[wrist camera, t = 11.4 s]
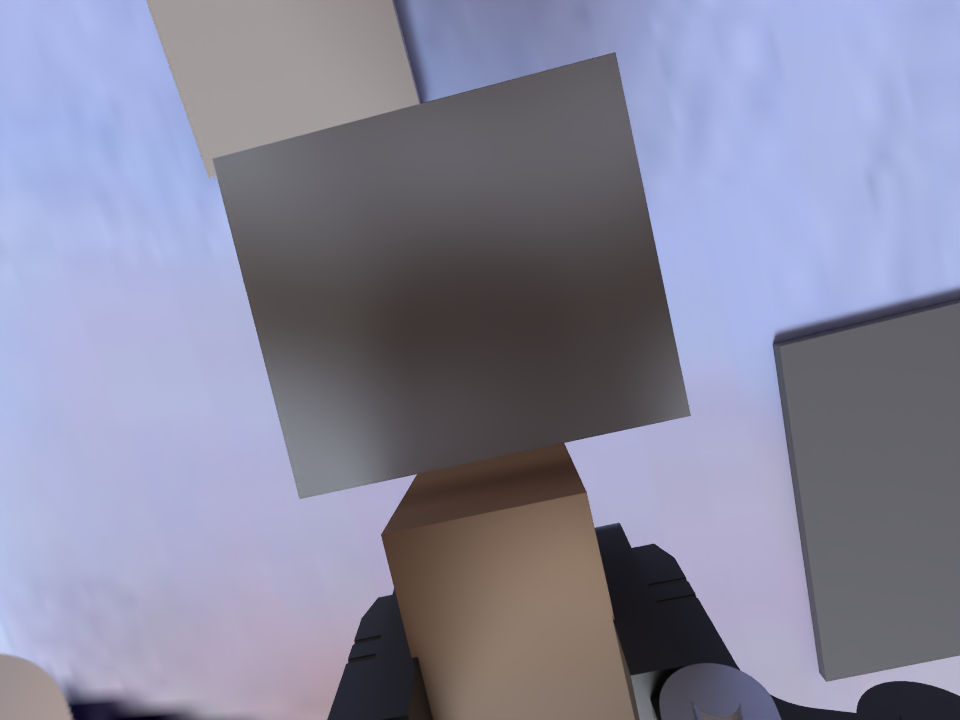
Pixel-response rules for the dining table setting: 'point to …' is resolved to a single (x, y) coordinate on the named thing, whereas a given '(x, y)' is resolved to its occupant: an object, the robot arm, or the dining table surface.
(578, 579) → the turner
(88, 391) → the dining table surface
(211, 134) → the tile
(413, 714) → the robot arm
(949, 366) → the mat
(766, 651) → the dining table surface
